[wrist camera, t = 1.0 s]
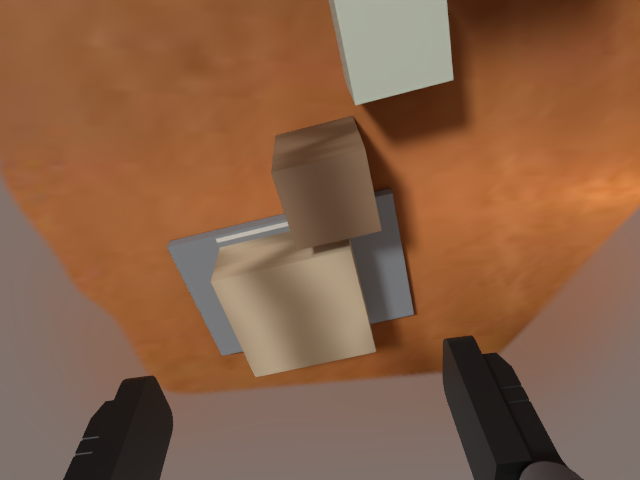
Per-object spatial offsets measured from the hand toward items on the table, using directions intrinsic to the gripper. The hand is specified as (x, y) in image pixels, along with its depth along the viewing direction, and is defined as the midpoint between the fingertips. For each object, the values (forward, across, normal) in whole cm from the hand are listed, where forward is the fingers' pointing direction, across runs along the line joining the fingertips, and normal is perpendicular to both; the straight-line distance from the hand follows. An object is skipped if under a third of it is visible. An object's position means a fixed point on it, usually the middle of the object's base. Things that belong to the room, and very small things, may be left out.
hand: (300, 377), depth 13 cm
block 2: (+19, -6, -6) cm, 21 cm away
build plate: (+19, +2, +10) cm, 22 cm away
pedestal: (+18, +2, +10) cm, 21 cm away
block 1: (+19, -1, +2) cm, 19 cm away
